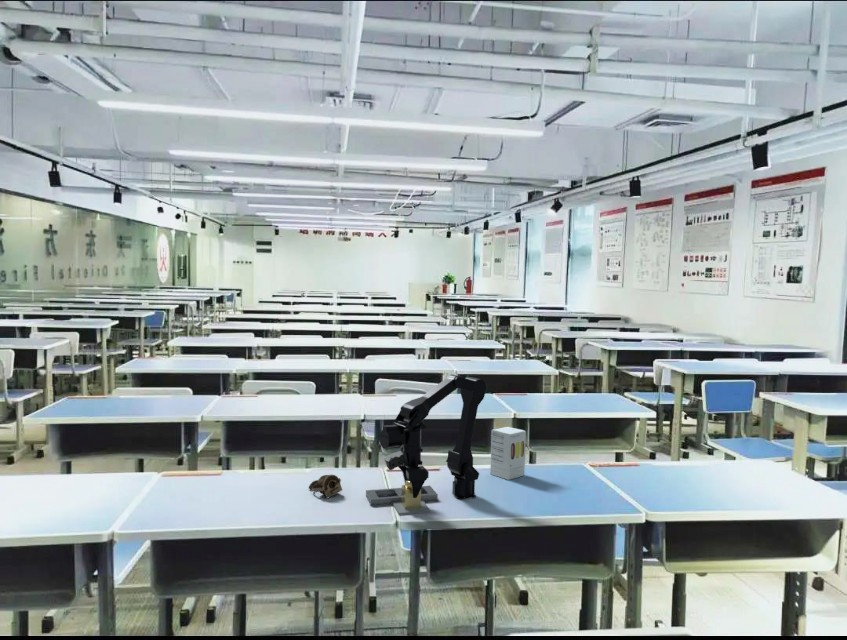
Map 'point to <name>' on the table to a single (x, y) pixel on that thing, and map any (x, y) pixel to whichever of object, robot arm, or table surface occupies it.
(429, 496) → the rectangular frame with openings
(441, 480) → the table surface
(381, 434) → the robot arm
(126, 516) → the table surface
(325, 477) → the brown piece
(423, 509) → the mat
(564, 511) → the table surface
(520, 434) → the supplement box
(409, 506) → the brass cube with knob
